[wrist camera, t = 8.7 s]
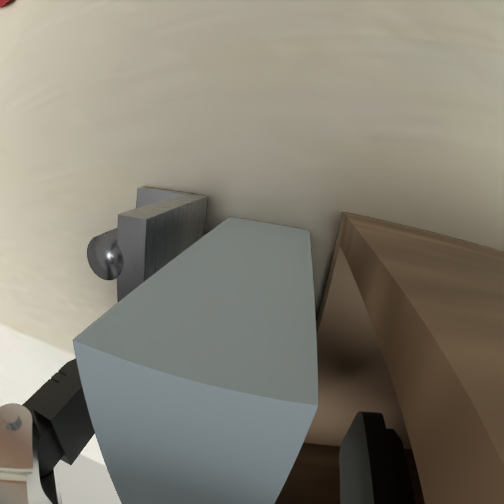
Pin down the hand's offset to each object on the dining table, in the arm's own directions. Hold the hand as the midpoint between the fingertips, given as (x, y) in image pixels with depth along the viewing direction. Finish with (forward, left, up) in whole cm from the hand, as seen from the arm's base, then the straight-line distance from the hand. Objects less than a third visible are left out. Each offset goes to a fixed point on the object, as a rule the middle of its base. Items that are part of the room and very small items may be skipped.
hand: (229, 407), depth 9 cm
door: (0, 0, -4) cm, 4 cm away
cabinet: (0, +7, -4) cm, 8 cm away
